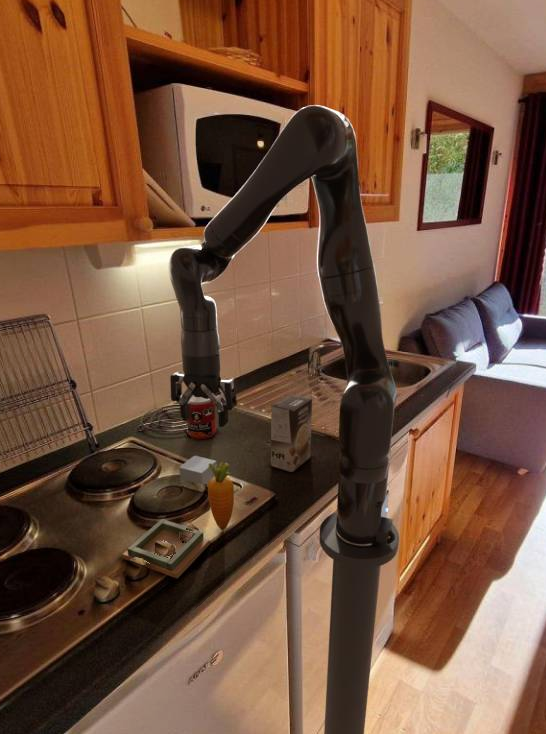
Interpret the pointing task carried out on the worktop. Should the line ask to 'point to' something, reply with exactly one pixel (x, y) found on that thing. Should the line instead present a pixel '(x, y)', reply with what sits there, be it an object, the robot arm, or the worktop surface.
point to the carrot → (221, 495)
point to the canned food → (201, 418)
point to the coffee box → (291, 432)
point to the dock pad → (170, 534)
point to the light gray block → (197, 470)
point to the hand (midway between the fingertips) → (204, 422)
